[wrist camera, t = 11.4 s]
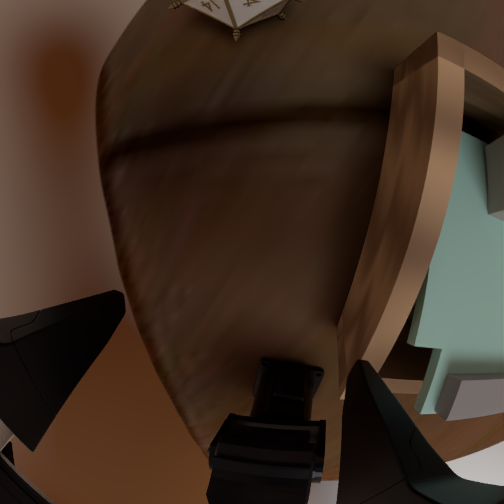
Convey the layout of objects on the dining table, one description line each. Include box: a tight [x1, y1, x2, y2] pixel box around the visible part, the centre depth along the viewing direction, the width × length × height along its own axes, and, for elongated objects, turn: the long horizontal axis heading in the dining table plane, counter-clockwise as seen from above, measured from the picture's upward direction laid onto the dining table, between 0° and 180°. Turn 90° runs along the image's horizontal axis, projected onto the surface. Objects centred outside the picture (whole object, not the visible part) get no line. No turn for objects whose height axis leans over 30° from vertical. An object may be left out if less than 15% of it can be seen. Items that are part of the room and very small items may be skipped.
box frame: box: [337, 31, 504, 399], centre depth 13 cm, size 22×18×8 cm
